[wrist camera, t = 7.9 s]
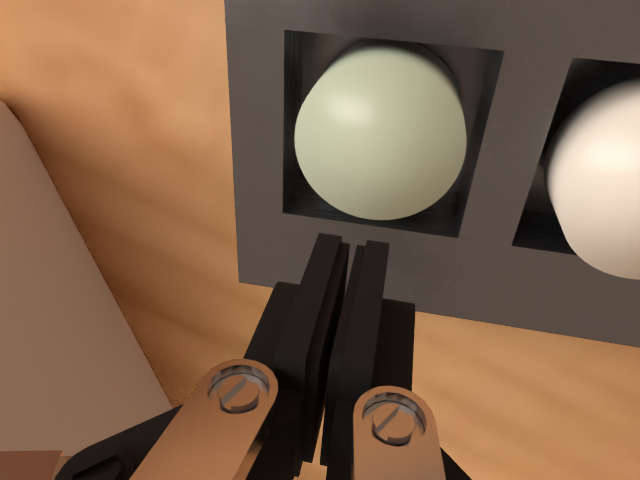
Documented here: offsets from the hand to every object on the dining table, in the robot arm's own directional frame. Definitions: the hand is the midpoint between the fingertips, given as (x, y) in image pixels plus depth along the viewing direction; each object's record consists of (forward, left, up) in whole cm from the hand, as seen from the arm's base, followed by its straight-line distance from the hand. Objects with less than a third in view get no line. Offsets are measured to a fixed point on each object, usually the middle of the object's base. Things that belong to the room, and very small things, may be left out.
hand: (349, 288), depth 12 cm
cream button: (+1, -9, -9) cm, 13 cm away
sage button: (+1, 0, -10) cm, 10 cm away
